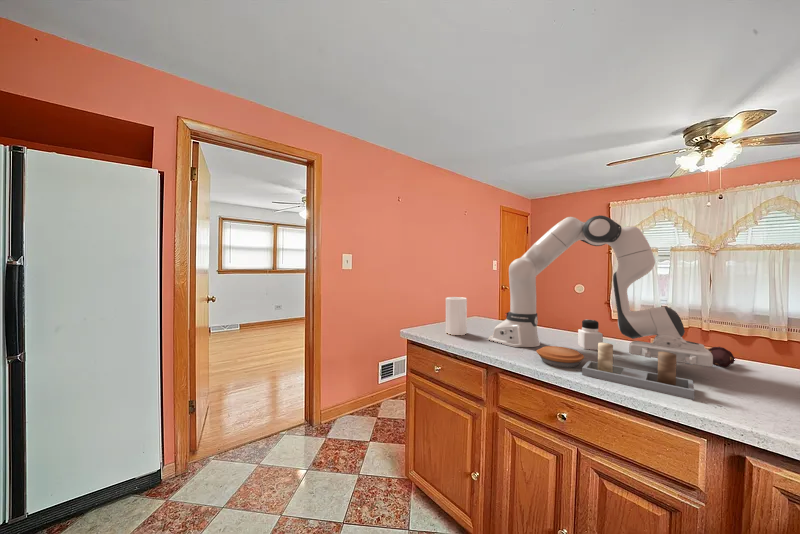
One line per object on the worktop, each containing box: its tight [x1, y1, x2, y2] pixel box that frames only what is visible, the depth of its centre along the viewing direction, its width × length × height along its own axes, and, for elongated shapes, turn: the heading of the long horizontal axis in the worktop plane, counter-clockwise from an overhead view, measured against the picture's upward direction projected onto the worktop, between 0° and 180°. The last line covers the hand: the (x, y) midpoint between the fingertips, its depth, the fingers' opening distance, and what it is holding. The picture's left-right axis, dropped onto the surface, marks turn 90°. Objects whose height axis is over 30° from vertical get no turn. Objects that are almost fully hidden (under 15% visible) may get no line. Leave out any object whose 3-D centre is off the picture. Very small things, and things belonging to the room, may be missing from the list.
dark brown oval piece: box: [708, 346, 736, 368], centre depth 107 cm, size 7×7×15 cm
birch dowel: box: [597, 342, 614, 373], centre depth 97 cm, size 4×4×10 cm
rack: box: [581, 360, 695, 401], centre depth 92 cm, size 26×10×2 cm, turn 47°
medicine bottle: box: [577, 319, 604, 351], centre depth 130 cm, size 7×7×12 cm
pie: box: [535, 345, 585, 369], centre depth 110 cm, size 16×16×5 cm
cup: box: [445, 296, 468, 336], centre depth 156 cm, size 11×11×18 cm
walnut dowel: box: [657, 352, 677, 386], centre depth 87 cm, size 4×4×10 cm
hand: (667, 358), depth 93 cm, fingers open, 8 cm apart
